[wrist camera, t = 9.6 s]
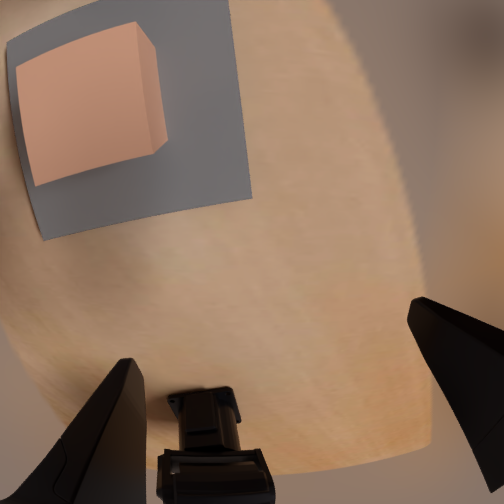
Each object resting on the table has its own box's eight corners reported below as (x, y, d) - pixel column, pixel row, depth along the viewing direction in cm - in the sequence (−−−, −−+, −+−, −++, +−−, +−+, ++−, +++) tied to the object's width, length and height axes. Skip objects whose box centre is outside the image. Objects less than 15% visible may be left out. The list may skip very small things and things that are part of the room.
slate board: (249, 193, 19) (252, 198, 18) (50, 233, 18) (43, 241, 16) (223, -18, 12) (224, -25, 11) (15, 44, 11) (6, 42, 10)
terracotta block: (167, 140, 15) (153, 153, 11) (79, 162, 15) (35, 186, 10) (155, 47, 13) (135, 21, 8) (64, 74, 12) (15, 67, 8)
